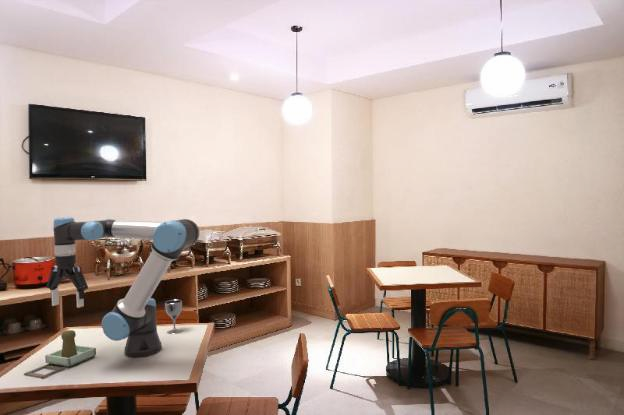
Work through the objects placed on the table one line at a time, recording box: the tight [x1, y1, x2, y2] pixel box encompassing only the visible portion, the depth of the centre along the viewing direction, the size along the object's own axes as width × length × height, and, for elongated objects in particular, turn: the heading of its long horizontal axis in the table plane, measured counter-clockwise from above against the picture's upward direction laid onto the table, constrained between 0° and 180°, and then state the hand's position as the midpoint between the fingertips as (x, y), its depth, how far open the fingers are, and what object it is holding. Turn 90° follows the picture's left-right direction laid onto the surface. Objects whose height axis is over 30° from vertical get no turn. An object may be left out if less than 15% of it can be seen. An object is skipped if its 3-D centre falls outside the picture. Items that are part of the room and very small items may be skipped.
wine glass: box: [164, 299, 183, 335], centre depth 217 cm, size 8×8×15 cm
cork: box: [60, 329, 77, 358], centre depth 180 cm, size 6×6×11 cm
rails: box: [23, 355, 96, 379], centre depth 176 cm, size 11×23×1 cm, turn 159°
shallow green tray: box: [44, 344, 97, 367], centre depth 180 cm, size 13×13×3 cm
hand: (67, 306), depth 181 cm, fingers open, 13 cm apart
